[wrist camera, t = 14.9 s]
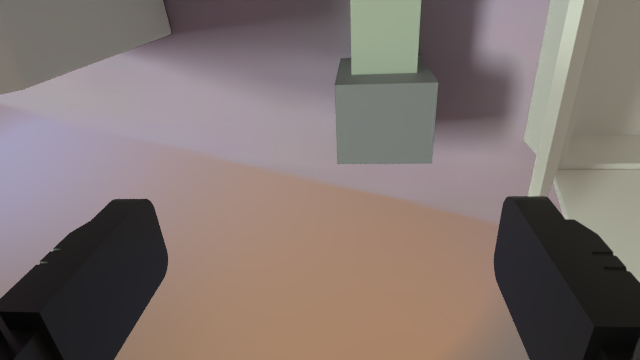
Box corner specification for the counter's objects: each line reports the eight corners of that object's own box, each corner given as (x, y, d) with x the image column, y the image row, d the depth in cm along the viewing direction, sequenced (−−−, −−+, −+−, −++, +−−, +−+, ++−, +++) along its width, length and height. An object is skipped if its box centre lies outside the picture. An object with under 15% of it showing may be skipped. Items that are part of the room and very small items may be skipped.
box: (336, -88, 26) (328, -104, 19) (430, -94, 25) (454, -114, 19) (342, 123, 32) (337, 163, 26) (417, 122, 32) (431, 163, 25)
